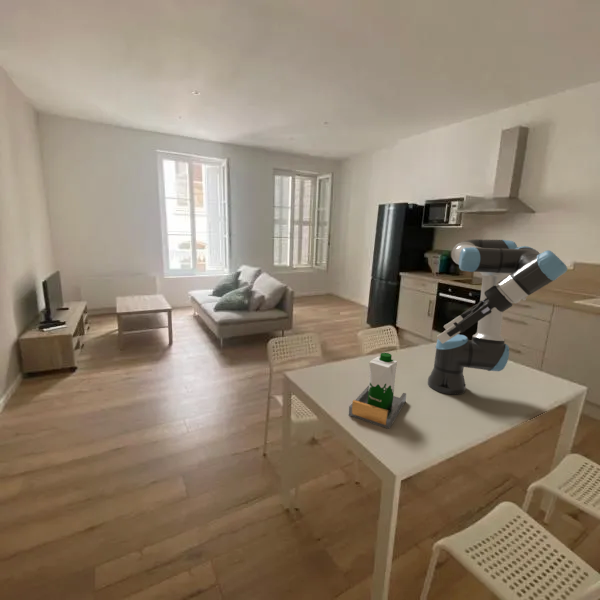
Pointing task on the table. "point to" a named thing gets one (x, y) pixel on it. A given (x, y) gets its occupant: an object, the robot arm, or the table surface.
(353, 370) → the table surface
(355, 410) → the rail channel
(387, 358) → the soya milk
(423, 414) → the table surface
